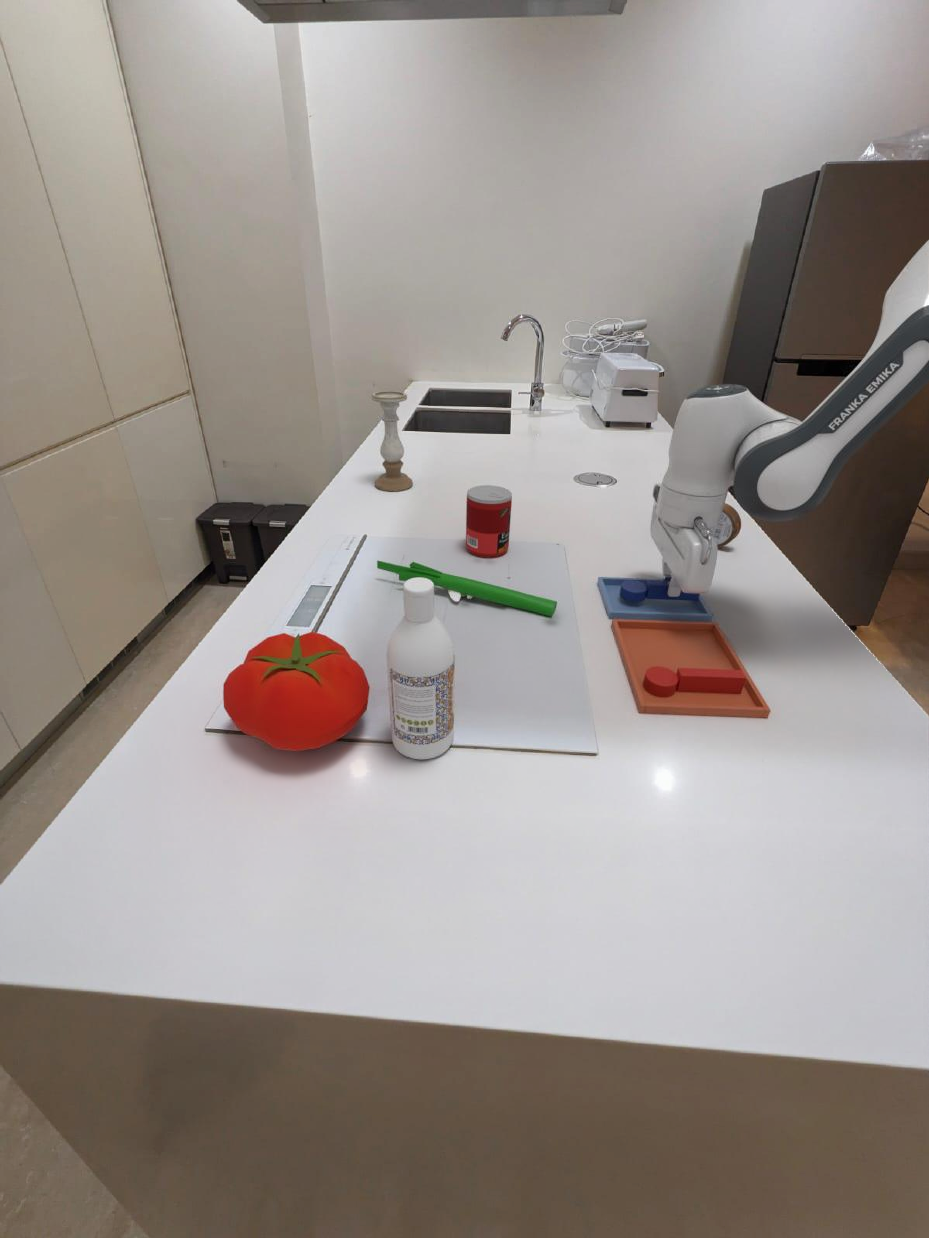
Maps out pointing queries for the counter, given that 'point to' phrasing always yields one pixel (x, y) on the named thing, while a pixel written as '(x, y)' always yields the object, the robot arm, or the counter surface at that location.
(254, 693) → the tomato
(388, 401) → the candle holder
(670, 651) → the terracotta tray
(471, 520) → the canned food
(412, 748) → the bath foam
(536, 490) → the counter surface
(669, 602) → the slate tray
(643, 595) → the blue spoon
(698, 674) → the red spoon
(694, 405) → the robot arm
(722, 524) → the tin
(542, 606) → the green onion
